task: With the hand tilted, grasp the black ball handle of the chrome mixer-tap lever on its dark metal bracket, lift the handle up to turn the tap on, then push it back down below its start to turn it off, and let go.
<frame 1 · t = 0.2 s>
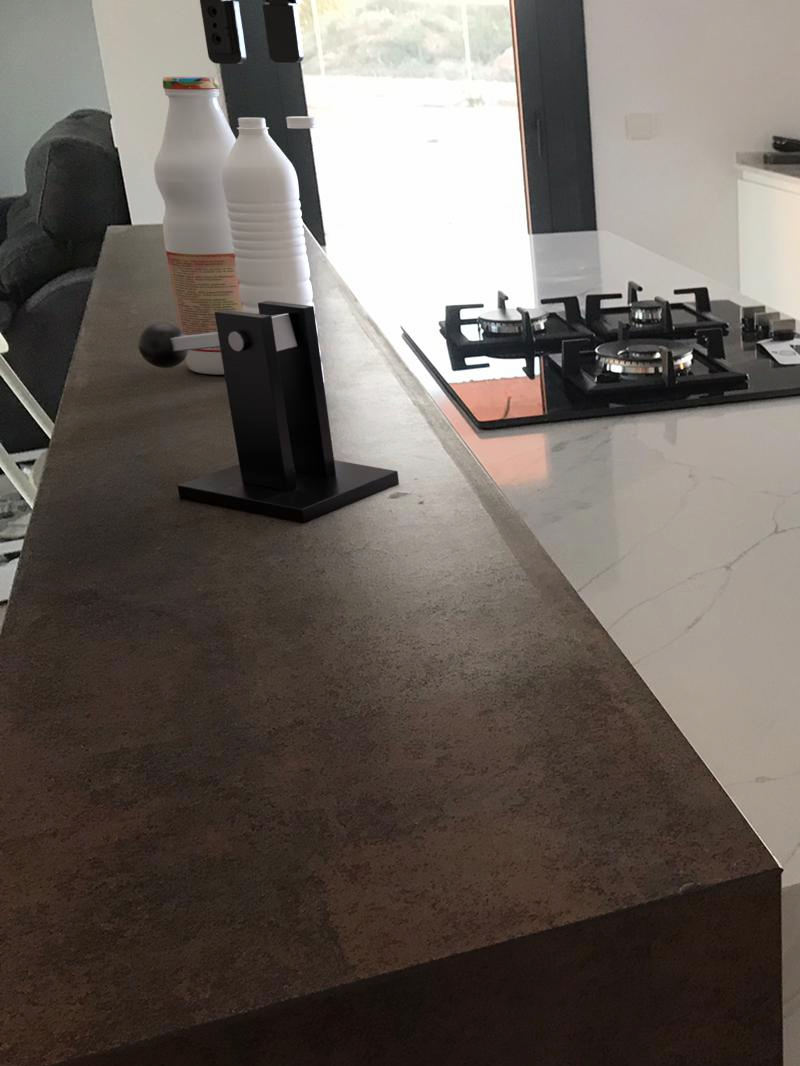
hand: (259, 63, 87), 30 cm above the counter, tool pointing down, fingers open, 8 cm apart
tap bracket: (291, 492, 97), on the counter
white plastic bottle: (302, 390, 126), on the counter
tap lever: (213, 340, 94), point 11 cm above the counter, hinge at -10.0°
fruit juice: (236, 368, 134), on the counter
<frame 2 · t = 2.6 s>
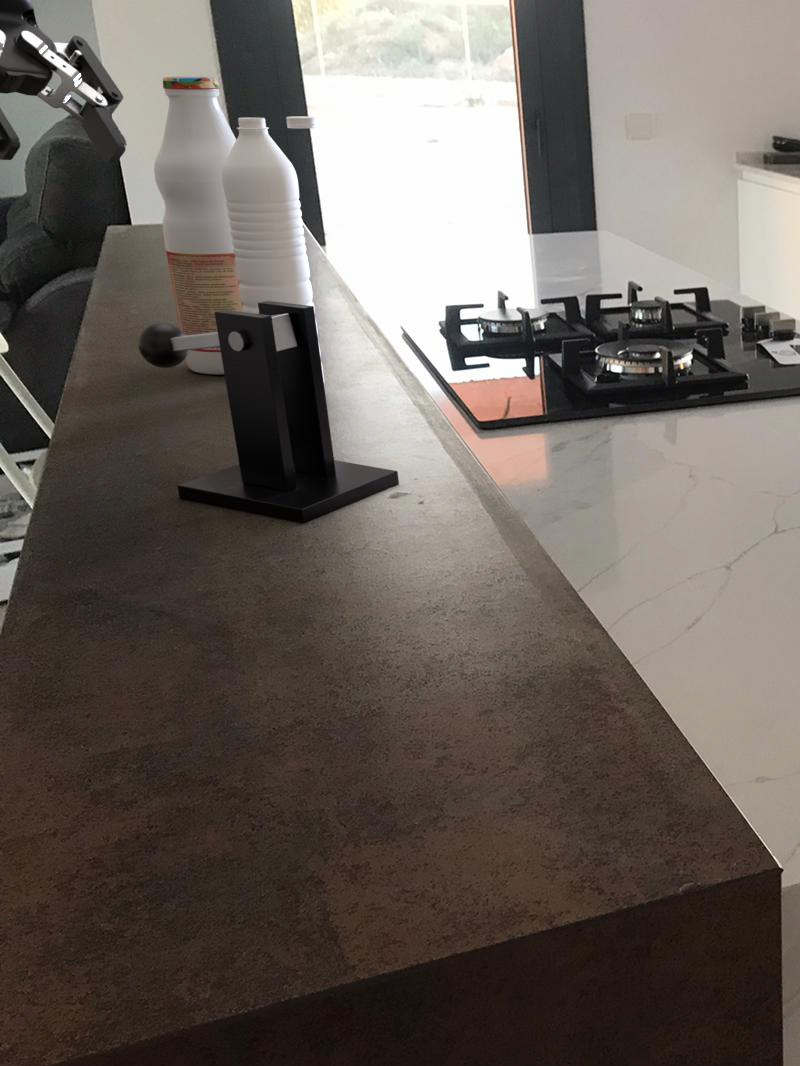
hand: (65, 155, 95), 23 cm above the counter, tool tilted 40°, fingers open, 8 cm apart
nothing on the counter moved.
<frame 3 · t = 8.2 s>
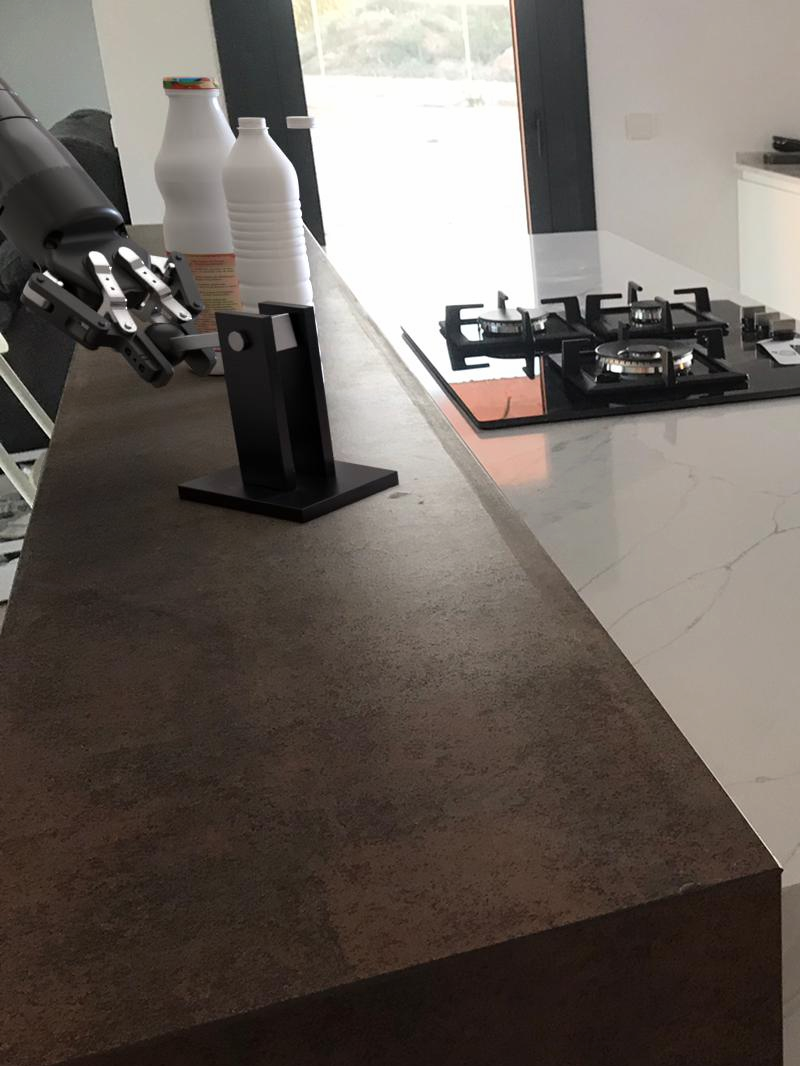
hand: (187, 374, 97), 8 cm above the counter, tool tilted 45°, fingers closed on tap lever, 3 cm apart
tap lever: (213, 340, 94), point 11 cm above the counter, hinge at -10.1°, touching gripper
everything else where it was.
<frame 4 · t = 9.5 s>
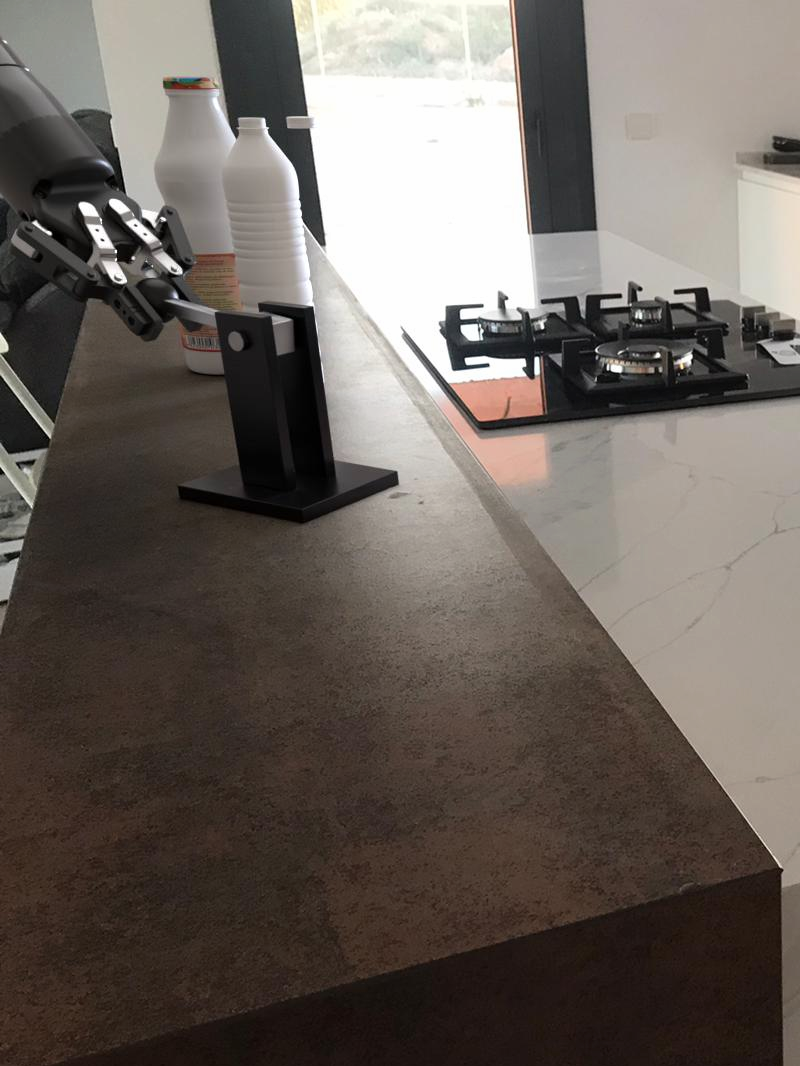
hand: (177, 328, 95), 12 cm above the counter, tool tilted 45°, fingers closed on tap lever, 3 cm apart
tap lever: (208, 316, 94), point 13 cm above the counter, hinge at 7.2°, touching gripper
everything else where it was.
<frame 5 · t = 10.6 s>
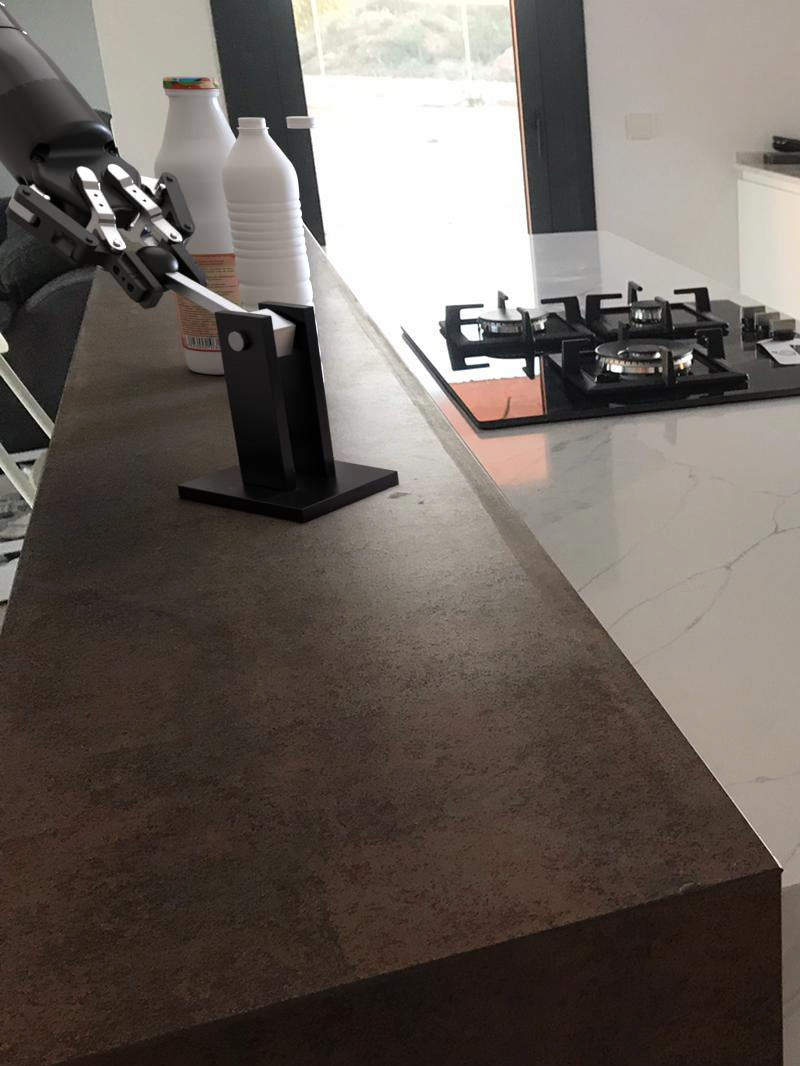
hand: (177, 296, 94), 14 cm above the counter, tool tilted 45°, fingers closed on tap lever, 3 cm apart
tap lever: (209, 300, 93), point 14 cm above the counter, hinge at 19.9°, touching gripper
everything else where it was.
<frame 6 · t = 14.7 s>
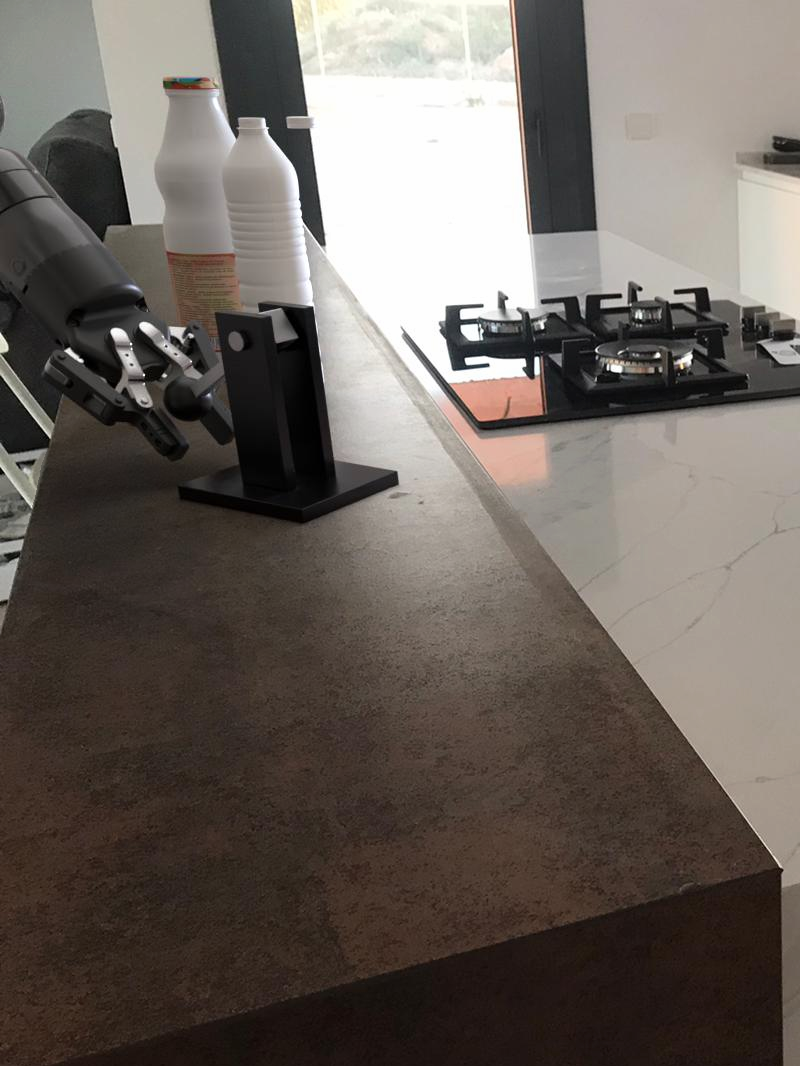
hand: (205, 445, 99), 3 cm above the counter, tool tilted 45°, fingers open, 4 cm apart
tap lever: (225, 368, 95), point 9 cm above the counter, hinge at -32.5°
everything else where it was.
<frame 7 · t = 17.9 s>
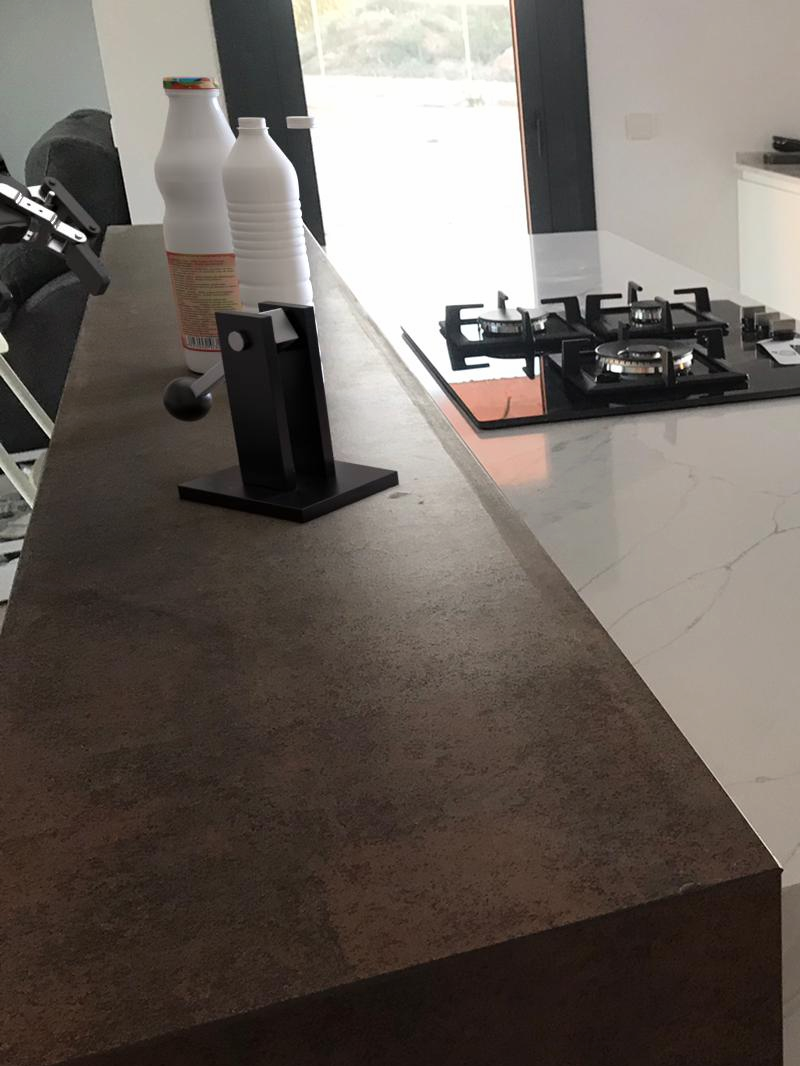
hand: (55, 297, 100), 13 cm above the counter, tool tilted 45°, fingers open, 8 cm apart
nothing on the counter moved.
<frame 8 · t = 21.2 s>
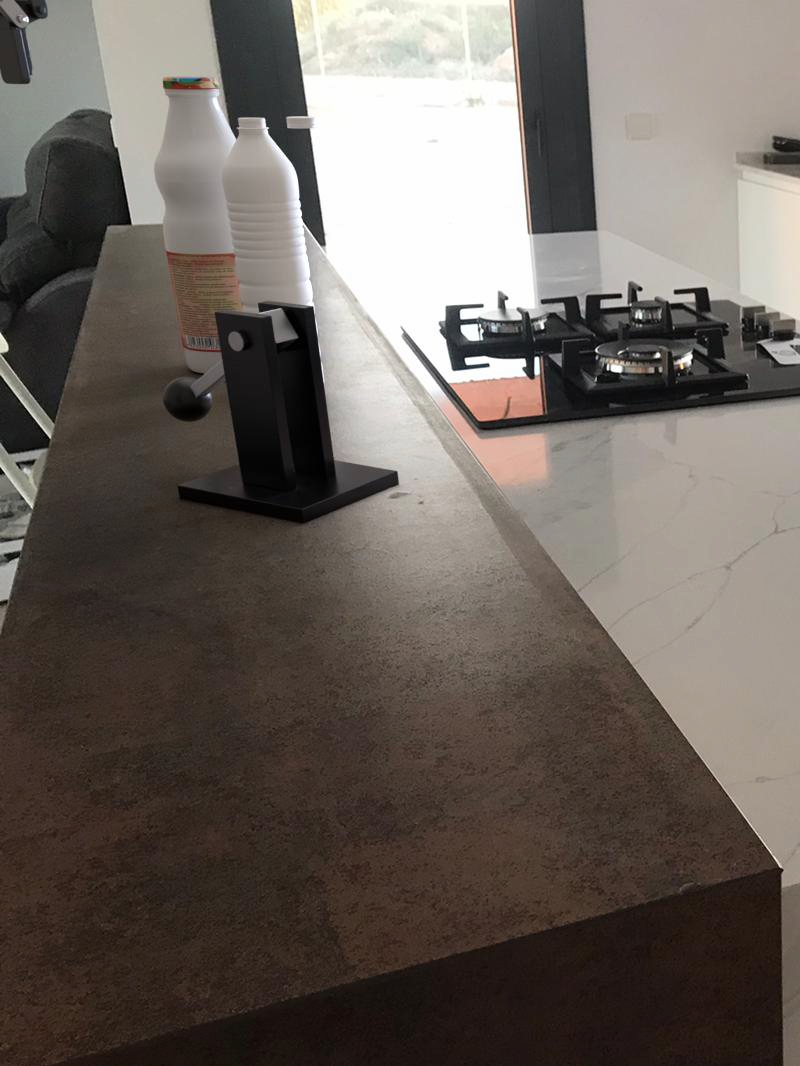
nothing on the counter moved.
at the end: tap lever reached +20° during the clip, -32° at the end; tap lever at -32° (first picture: -10°) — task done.
